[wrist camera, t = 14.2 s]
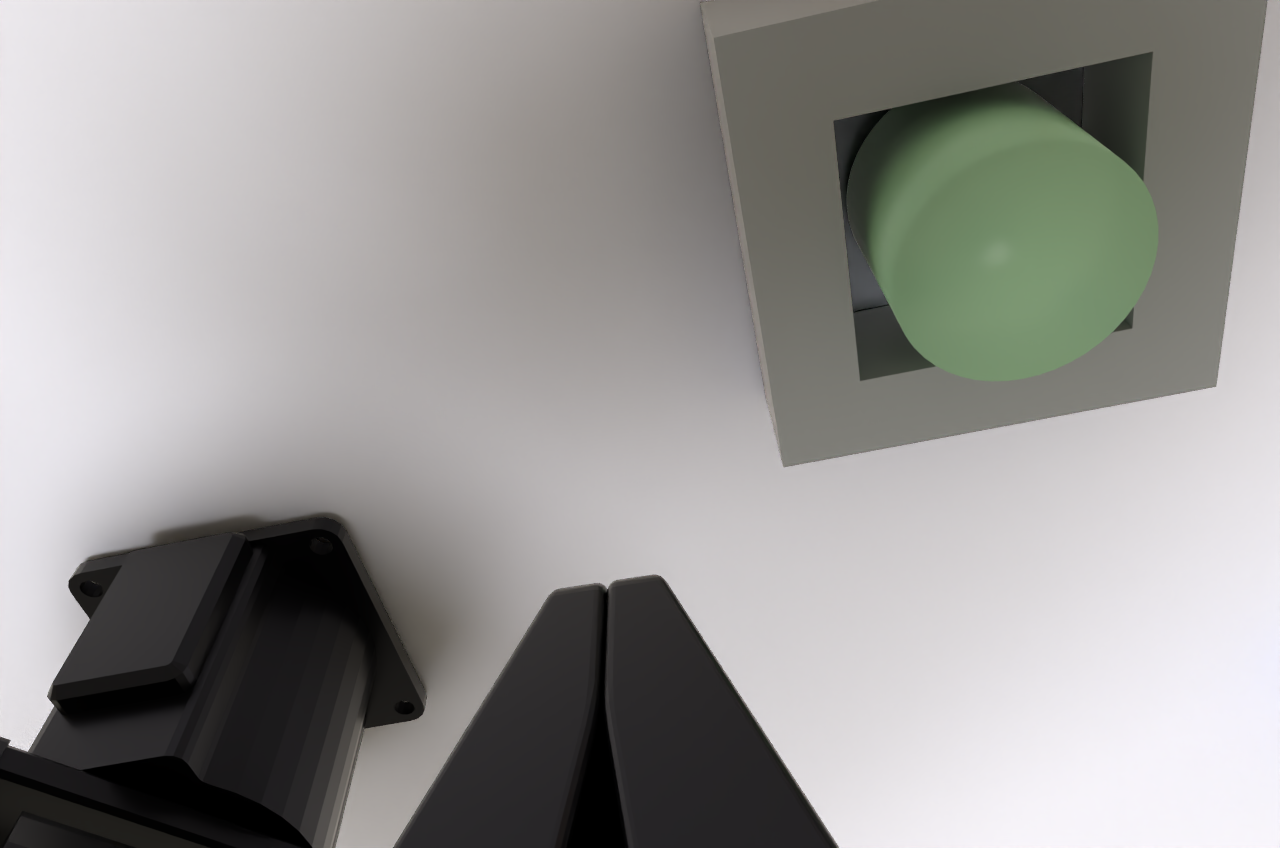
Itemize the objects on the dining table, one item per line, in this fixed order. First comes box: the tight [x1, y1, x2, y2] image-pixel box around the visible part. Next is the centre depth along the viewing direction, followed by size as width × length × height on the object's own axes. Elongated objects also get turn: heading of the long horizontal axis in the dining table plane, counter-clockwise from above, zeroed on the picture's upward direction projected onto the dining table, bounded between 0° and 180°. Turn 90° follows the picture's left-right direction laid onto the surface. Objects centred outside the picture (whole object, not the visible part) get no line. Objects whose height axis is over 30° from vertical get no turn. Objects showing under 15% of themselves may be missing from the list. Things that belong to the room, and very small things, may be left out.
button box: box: [700, 0, 1267, 467], centre depth 17 cm, size 8×8×2 cm
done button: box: [846, 82, 1158, 381], centre depth 17 cm, size 4×4×4 cm
